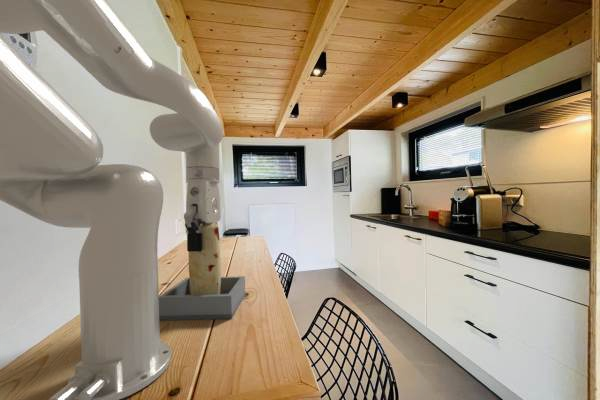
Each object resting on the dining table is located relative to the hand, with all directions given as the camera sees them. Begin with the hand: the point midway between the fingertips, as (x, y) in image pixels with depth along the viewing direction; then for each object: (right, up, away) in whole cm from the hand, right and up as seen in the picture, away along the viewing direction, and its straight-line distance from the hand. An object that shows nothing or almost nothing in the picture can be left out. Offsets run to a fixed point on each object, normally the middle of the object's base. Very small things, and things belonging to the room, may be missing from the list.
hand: (203, 247), depth 58 cm
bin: (0, -15, +1) cm, 15 cm away
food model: (0, -14, 0) cm, 14 cm away
